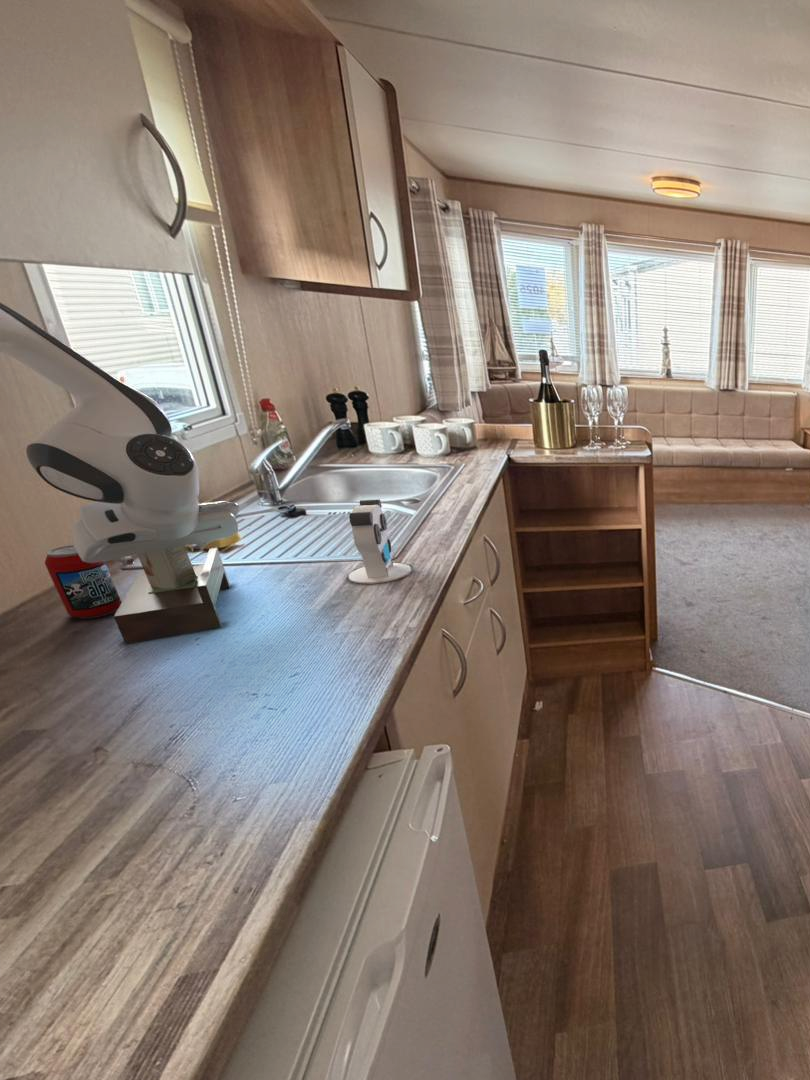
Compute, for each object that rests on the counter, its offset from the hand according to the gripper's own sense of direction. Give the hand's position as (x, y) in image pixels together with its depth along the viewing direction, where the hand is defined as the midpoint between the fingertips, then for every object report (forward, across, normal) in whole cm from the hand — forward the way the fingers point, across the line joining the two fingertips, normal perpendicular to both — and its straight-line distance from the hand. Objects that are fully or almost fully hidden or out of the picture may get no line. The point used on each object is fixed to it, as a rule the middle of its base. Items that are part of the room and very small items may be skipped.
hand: (161, 555), depth 112 cm
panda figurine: (+1, -30, +14) cm, 33 cm away
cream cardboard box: (+3, 0, +4) cm, 6 cm away
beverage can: (+14, +9, +1) cm, 17 cm away
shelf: (+6, 0, +8) cm, 11 cm away
